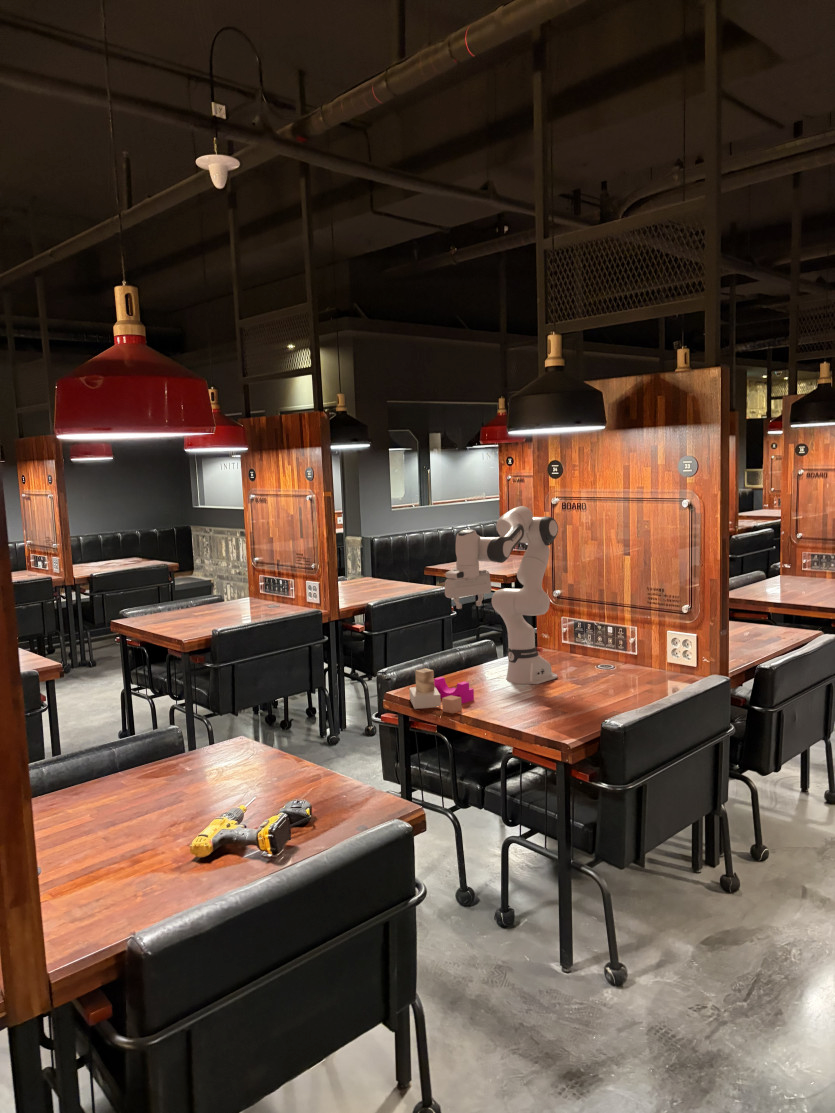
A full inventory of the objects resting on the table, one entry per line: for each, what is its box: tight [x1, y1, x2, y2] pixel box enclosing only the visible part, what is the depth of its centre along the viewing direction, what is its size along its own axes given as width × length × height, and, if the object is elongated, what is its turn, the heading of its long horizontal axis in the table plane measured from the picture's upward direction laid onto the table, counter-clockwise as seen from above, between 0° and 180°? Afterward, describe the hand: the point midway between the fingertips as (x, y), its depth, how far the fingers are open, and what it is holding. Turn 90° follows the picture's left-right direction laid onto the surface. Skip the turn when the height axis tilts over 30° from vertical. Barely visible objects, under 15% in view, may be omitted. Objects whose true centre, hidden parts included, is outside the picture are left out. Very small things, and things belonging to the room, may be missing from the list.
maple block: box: [414, 667, 435, 693], centre depth 306 cm, size 5×5×8 cm
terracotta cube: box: [441, 695, 463, 714], centre depth 294 cm, size 5×5×5 cm
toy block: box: [434, 676, 475, 704], centre depth 311 cm, size 15×6×8 cm, turn 44°
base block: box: [409, 686, 442, 710], centre depth 306 cm, size 10×14×5 cm
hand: (469, 607), depth 311 cm, fingers open, 8 cm apart
